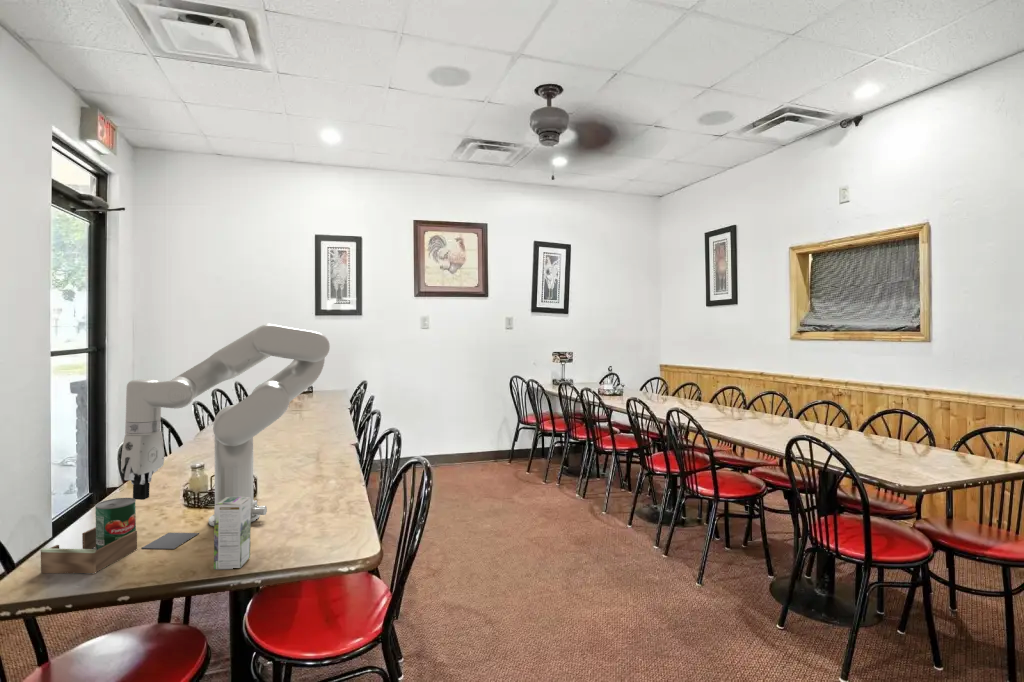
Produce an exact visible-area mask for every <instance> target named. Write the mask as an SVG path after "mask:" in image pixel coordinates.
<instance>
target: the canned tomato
mask: <svg viewBox="0 0 1024 682" xmlns="http://www.w3.org/2000/svg"><path fill="white" fill-rule="evenodd" d="M136 500H137V499H134V498H133V497H118V498H112V499H106V500H103V501H99V502H98V503H96V504H95V505H94V506H95V527H96V547H95V549H96V550H98V549H100V548H102V547H104V546H106V545H108V544H110V543H112V542H114V541H116V540H117V539H119V538H121V537H123V536H125V535H127V534H129V533H131V532H133V531H137V526H136V524H137V522H136V520H137V519H136V515H137V514H136V512H137V511H136V508H137V506H136Z"/></svg>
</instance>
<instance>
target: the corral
mask: <svg viewBox="0 0 1024 682" xmlns="http://www.w3.org/2000/svg"><path fill="white" fill-rule="evenodd" d="M81 535H82V544H81V545H82V548H60V544H55V545H53V546H51V547H49V548H47V547H46V548H44V547H43V548H41V549H40V573H41V574H73V573H94V574H96V573H98V572H100V571H102V570H103V569H105V568H107V567H108V565H109V564H111V563H112V564H114V563H115V561H116V562H118V561H119V560H122V559H123V558H125V557H127V556H128V555H130V554H132V553H134V552H135V551H134V550H136V549H137V550H138V531H137V530H136V531H133V532H131V533H129V534H127V535H125V536H123V537H121V538H119V539H117V540H116V541H114V542H112V543H110V544H108V545H106V546H104V547H102V548H100V549H98V550H96V526H95V527H93V528H91V529H89V530H86V531H84V532H82V534H81ZM94 547H95V549H94ZM92 548H93V549H92ZM137 550H136V551H137ZM133 551H134V552H133ZM131 552H132V553H131ZM129 553H130V554H129ZM127 554H128V555H127ZM126 555H127V556H126ZM124 556H125V557H124ZM122 557H123V558H122ZM117 560H118V561H117ZM113 562H114V563H113ZM112 564H111V565H112ZM106 566H107V567H106ZM109 566H110V565H109ZM104 567H105V568H104ZM102 568H103V569H102ZM101 569H102V570H101ZM99 570H100V571H99ZM97 571H98V572H97ZM95 572H96V573H95Z"/></svg>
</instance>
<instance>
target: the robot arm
mask: <svg viewBox="0 0 1024 682" xmlns="http://www.w3.org/2000/svg"><path fill="white" fill-rule="evenodd" d="M330 348H331V345H330V342H329V339H328V338H327V337H326V335H324V334H323V333H321V332H318V331H314V330H306V329H299V328H294V327H288V326H282V325H278V324H273V323H265V324H262V325H260V326H258V327H256V328H254V329H253V330H251V331H249V332H248V333H245V334H244V335H243V336H241V337H239V338H238V339H235V340H234V341H232V342H230V343H229V344H226V345H225V346H224V347H222V348H221V349H218V350H216V351H215V352H214V353H212V354H211V355H210V356H209V357H207V358H206V359H204V360H203V361H201V362H200V363H198V364H196V365H194V366H193V367H190V368H189V369H188V370H186V371H184V372H182V373H181V374H179V375H177V376H175V377H173V378H172V379H170V380H164V381H159V380H157V379H149V378H147V379H133V380H130V381H128V383H126V398H125V428H124V429H125V432H124V433H125V435H124V438H123V443H122V449H121V450H122V451H121V456H120V457H121V458H120V459H121V460H120V468H121V469H120V470H121V473H122V474H123V475H124V478H123V480H124V481H130V482H131V485H132V498H134V499H135V500H143V501H144V500H146V499H149V498H150V483H151V482H152V478H153V475H154V474H155V473H156V472H157V471H158V470H159V469H161V468H162V467H163V466H164V464H165V463H164V462H165V449H164V447H165V445H164V436H163V434H162V433H163V432H162V430H161V422H162V421H161V418H162V408H164V409H165V408H166V409H174V410H175V409H183V408H185V407H187V406H188V405H190V404H191V403H192V402H193V400H194V399H196V398H197V397H198V396H200V395H202V394H204V393H205V392H206V391H207V392H208V391H209V390H210V389H212V388H213V387H215V386H217V385H219V384H221V383H223V382H226V381H228V380H232V379H234V378H236V377H239V376H240V375H242V374H244V373H245V372H247V371H248V370H250V369H252V368H253V367H255V366H256V365H258V364H260V363H261V362H263V361H265V360H267V358H269V357H276V358H280V359H281V358H282V359H289V360H292V362H290V363H289V364H288V365H287V366H285V367H284V368H283V369H282V370H280V371H279V372H278V373H276V374H275V375H273V376H271V377H270V378H269V379H266V381H264V382H262V383H261V384H258V385H257V386H256V387H255V388H254V389H253V390H252V391H251V394H249V395H248V396H246V397H245V398H244V399H242V400H241V401H239V402H238V403H236V404H232V405H226V406H225V407H223V408H222V409H220V410H219V411H218V413H217V414H216V416H215V417H214V422H213V434H214V435H213V436H214V439H213V440H214V506H215V505H216V504H217V503H219V502H220V501H222V500H223V499H224V498H226V497H234V496H241V497H250V498H251V523H252V522H255V521H256V519H257V520H258V519H259V518H260V516H266V514H267V512H268V509H267V505H259V504H258V500H254V438H255V436H257V435H258V434H259V433H261V432H262V431H264V430H265V429H267V428H268V427H270V426H271V425H272V424H273V423H275V422H276V421H277V420H279V419H280V418H281V417H282V416H283V415H284V414H285V413H286V412H287V410H288V409H289V405H290V403H291V402H292V401H293V400H294V399H296V398H297V397H298V396H299V395H301V394H302V393H303V392H304V391H306V390H307V389H309V388H310V387H311V386H312V385H313V384H314V383H315V382H316V381H317V380H318V378H319V377H320V375H321V373H322V371H323V368H324V366H325V361H326V360H325V358H327V356H328V354H329V353H330ZM208 524H209V526H211V527H214V514H212V515H211V516H209V518H208Z"/></svg>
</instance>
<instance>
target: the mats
mask: <svg viewBox="0 0 1024 682" xmlns="http://www.w3.org/2000/svg"><path fill="white" fill-rule="evenodd" d="M197 534H198V535H200V532H166V534H164V535H161V536H160V537H159V538H156V539H155V540H153V541H151V542H149V543H147V544H146V545H144V546H143V547H141V548H142V549H141V550H175V549H177V548H179V547H180V546H182V545H183V544H185V543H187V542H188V541H190V540H191V538H192V537H193V538H195V537H196V536H198V535H197ZM194 536H195V537H194ZM193 538H192V539H193ZM189 539H190V540H189ZM187 540H188V541H187ZM186 541H187V542H186ZM184 542H185V543H184ZM182 543H183V544H182ZM181 544H182V545H181ZM179 545H180V546H179ZM178 546H179V547H178ZM176 547H177V548H176Z"/></svg>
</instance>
